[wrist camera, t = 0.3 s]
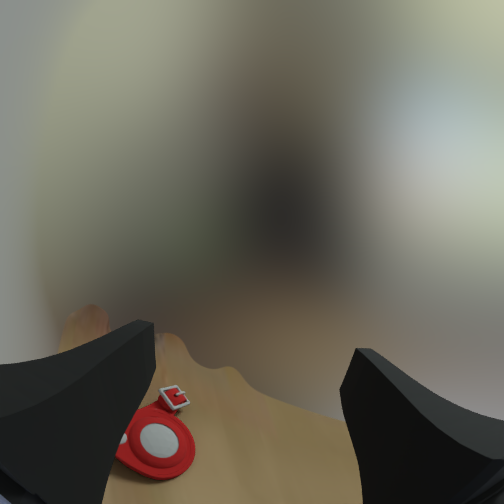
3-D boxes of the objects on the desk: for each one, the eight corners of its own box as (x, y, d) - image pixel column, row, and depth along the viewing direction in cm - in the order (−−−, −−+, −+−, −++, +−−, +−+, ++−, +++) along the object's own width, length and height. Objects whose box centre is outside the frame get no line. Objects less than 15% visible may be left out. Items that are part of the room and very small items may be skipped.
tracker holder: (208, 478, 18) (101, 469, 14) (194, 484, 20) (100, 474, 16) (194, 379, 28) (107, 361, 24) (183, 395, 30) (104, 380, 26)
